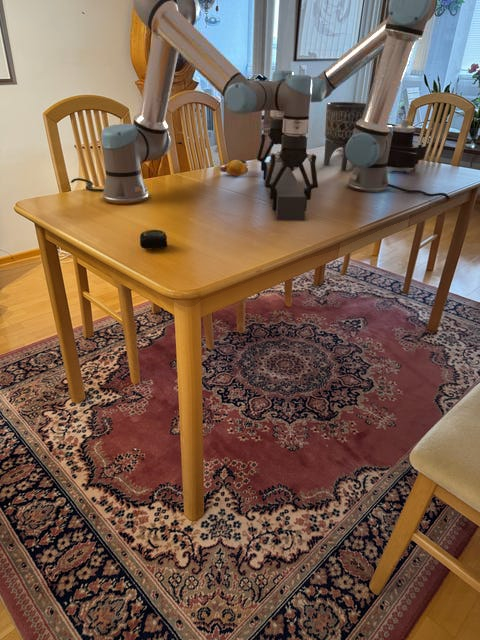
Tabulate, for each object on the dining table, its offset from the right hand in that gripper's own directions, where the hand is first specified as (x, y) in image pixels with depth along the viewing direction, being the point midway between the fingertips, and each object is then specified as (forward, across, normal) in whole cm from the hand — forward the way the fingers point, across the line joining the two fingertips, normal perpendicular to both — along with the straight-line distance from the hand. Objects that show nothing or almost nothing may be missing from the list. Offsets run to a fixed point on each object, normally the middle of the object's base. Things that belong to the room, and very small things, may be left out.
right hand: (276, 179), depth 180 cm
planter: (+2, +34, +33) cm, 47 cm away
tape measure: (+2, -39, -71) cm, 81 cm away
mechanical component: (+2, +61, +32) cm, 69 cm away
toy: (+2, -16, +16) cm, 22 cm away
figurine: (+2, +43, +65) cm, 78 cm away
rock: (+2, +6, +29) cm, 29 cm away
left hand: (0, 0, -41) cm, 41 cm away
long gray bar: (+2, 0, -20) cm, 20 cm away
